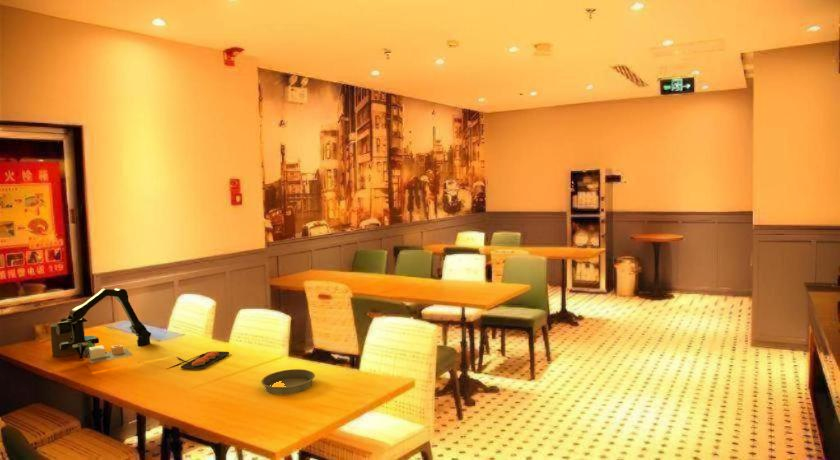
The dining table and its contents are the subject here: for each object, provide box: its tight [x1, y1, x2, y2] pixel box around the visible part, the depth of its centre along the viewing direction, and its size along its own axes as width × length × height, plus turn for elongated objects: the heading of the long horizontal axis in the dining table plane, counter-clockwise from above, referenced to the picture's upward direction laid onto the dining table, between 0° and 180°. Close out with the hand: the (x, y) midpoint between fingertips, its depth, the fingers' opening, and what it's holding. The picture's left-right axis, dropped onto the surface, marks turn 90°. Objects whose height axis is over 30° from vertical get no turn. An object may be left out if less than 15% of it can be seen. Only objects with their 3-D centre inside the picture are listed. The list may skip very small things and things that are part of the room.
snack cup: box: [78, 335, 97, 356], centre depth 344 cm, size 16×10×10 cm
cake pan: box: [260, 368, 316, 396], centre depth 274 cm, size 25×25×4 cm
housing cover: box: [88, 344, 106, 359], centre depth 335 cm, size 7×10×5 cm
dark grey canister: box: [49, 316, 78, 357], centre depth 350 cm, size 15×15×22 cm
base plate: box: [86, 348, 133, 364], centre depth 336 cm, size 21×18×3 cm
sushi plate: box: [166, 350, 230, 370], centre depth 321 cm, size 29×30×4 cm
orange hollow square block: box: [110, 344, 124, 355], centre depth 341 cm, size 5×5×4 cm
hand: (81, 357), depth 330 cm, fingers closed
